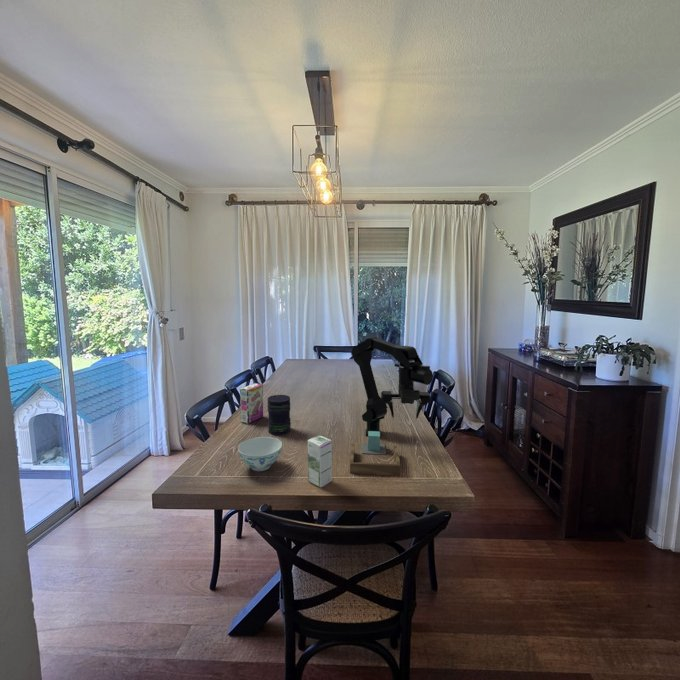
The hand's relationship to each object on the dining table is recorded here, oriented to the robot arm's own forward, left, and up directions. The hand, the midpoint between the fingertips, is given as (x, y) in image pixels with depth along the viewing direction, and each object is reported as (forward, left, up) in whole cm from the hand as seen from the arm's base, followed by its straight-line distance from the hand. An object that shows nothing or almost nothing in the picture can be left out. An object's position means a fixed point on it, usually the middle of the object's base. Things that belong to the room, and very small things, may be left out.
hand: (404, 417), depth 139 cm
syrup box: (+28, -30, -12) cm, 43 cm away
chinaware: (+20, -52, -12) cm, 57 cm away
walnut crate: (+14, -12, -12) cm, 22 cm away
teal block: (+3, -12, -12) cm, 17 cm away
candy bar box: (-23, -69, -12) cm, 74 cm away
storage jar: (-11, -53, -12) cm, 55 cm away
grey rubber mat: (+3, -12, -12) cm, 17 cm away
